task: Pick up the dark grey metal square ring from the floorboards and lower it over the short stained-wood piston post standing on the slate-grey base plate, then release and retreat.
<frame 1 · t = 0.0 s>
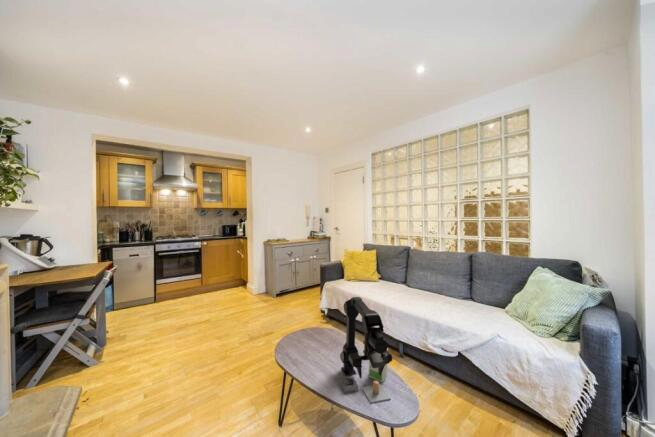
hand: (370, 376, 110), 15 cm above the table, fingers open, 9 cm apart
skincare box: (378, 376, 133), on the table
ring: (349, 387, 124), on the table
piston base: (375, 394, 120), on the table
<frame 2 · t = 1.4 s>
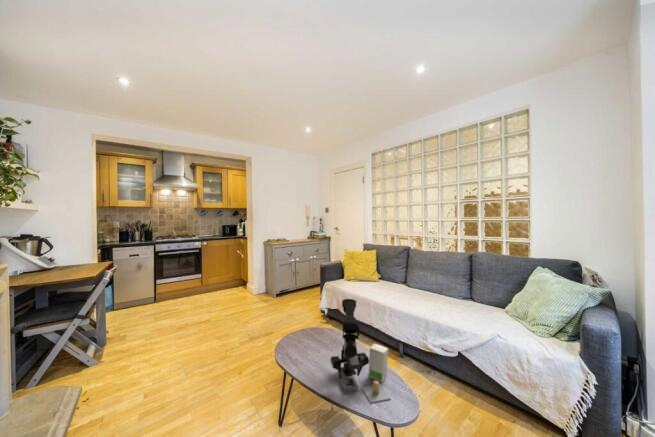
hand: (349, 377, 124), 5 cm above the table, fingers open, 9 cm apart
nothing on the table moved.
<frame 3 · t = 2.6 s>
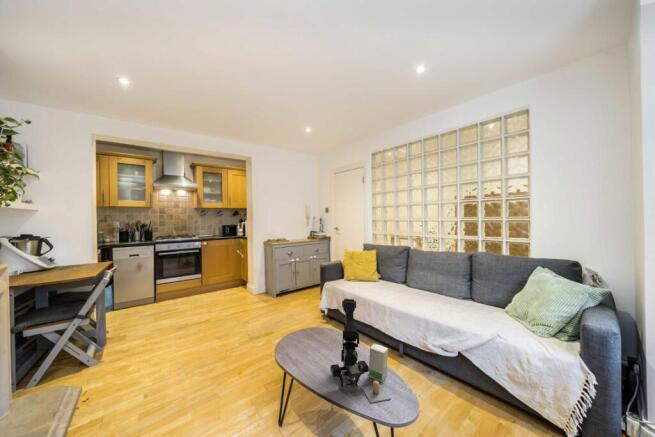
hand: (349, 385, 124), 1 cm above the table, fingers closed on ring, 7 cm apart
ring: (349, 387, 124), on the table, touching gripper
everything else where it was.
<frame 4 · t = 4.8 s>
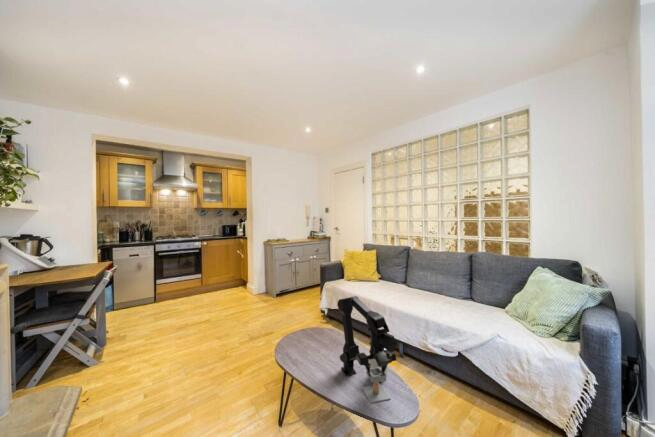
hand: (375, 374, 120), 9 cm above the table, fingers closed on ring, 7 cm apart
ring: (376, 376, 120), point 8 cm above the table, touching gripper
everything else where it was.
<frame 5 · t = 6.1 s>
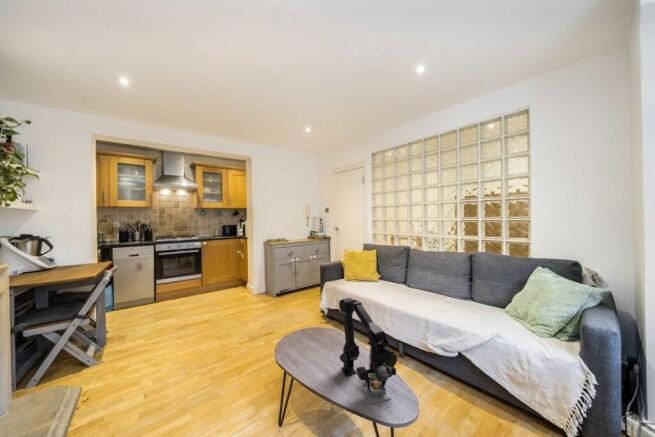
hand: (375, 388, 120), 3 cm above the table, fingers closed on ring, 7 cm apart
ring: (375, 390, 120), point 2 cm above the table, touching gripper
everything else where it was.
when the fingers open (2 cm above the table, at t = 7.1 s): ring stays where it is, resting on piston base.
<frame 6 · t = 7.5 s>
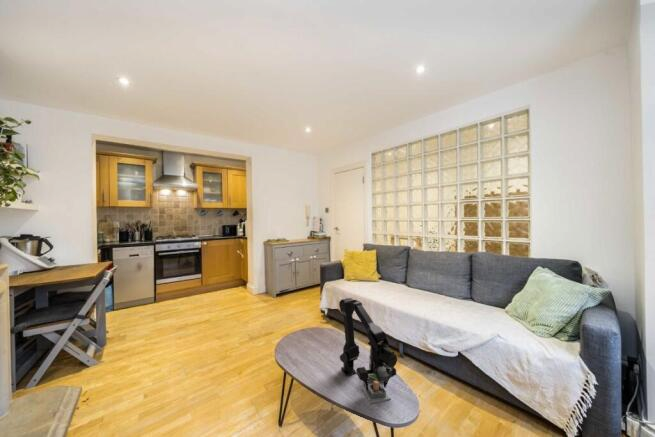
hand: (375, 388, 120), 2 cm above the table, fingers open, 9 cm apart
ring: (375, 392, 120), point 1 cm above the table, touching piston base
everything else where it was.
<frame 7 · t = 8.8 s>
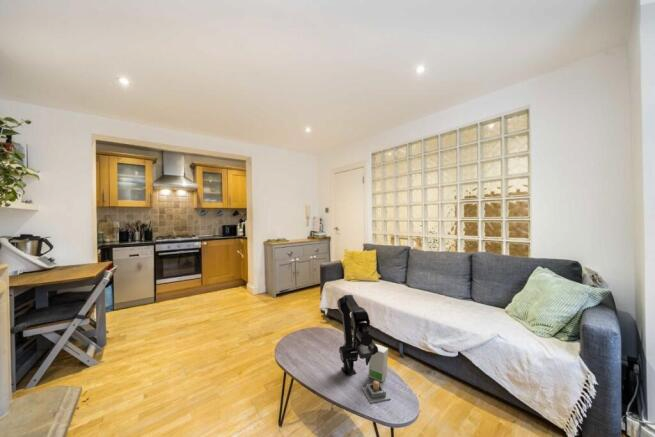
hand: (358, 366, 122), 12 cm above the table, fingers open, 9 cm apart
nothing on the table moved.
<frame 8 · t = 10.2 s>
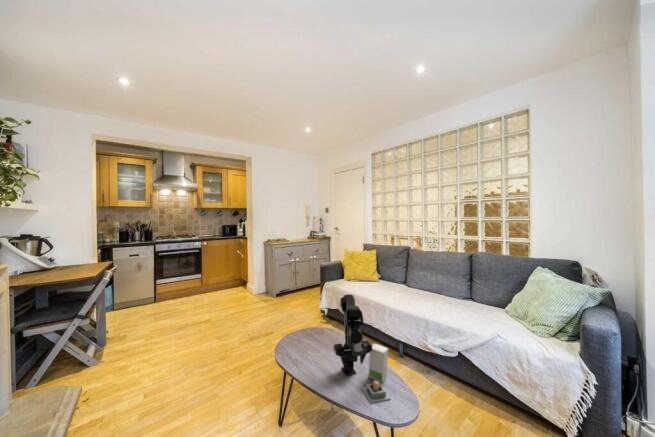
hand: (352, 364, 123), 12 cm above the table, fingers open, 9 cm apart
nothing on the table moved.
at the end: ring 0.1 cm off-centre on the piston base, point 0.6 cm above the piston base's base; the gripper is holding nothing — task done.
